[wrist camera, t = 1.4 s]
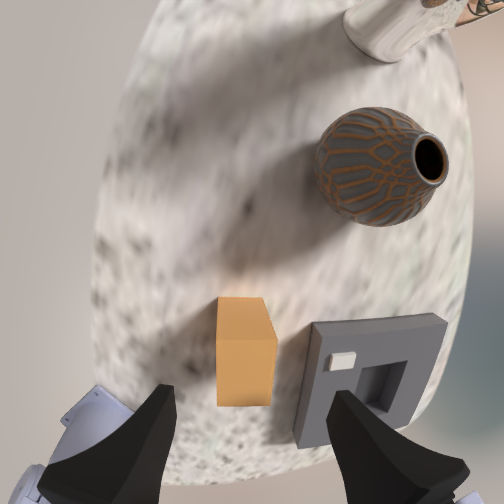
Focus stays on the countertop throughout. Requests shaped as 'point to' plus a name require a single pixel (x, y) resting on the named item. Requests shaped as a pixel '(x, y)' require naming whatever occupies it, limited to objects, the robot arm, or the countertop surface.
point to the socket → (367, 369)
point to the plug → (244, 352)
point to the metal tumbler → (408, 22)
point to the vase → (379, 166)
